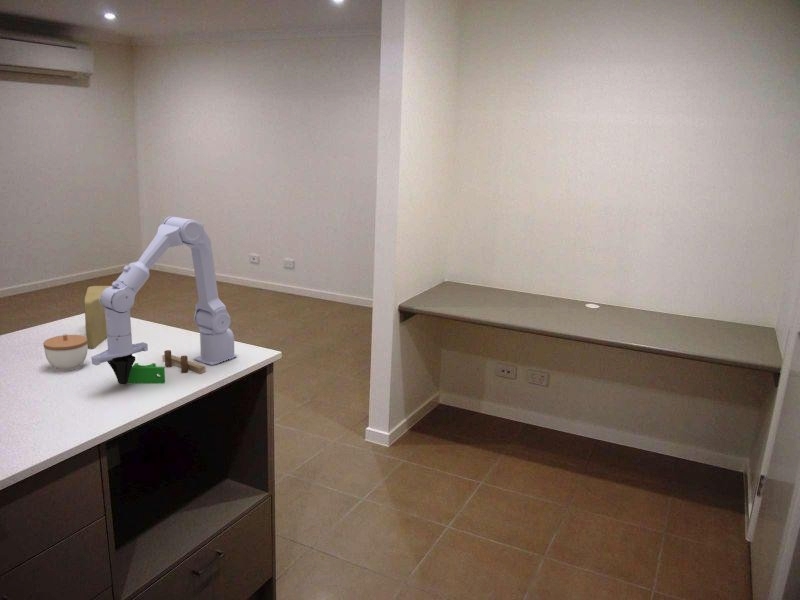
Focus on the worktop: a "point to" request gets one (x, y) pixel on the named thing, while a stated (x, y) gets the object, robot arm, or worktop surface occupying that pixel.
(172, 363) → the peg rack
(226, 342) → the robot arm
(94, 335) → the cheese
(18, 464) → the worktop surface
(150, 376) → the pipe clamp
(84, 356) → the lidded jar
